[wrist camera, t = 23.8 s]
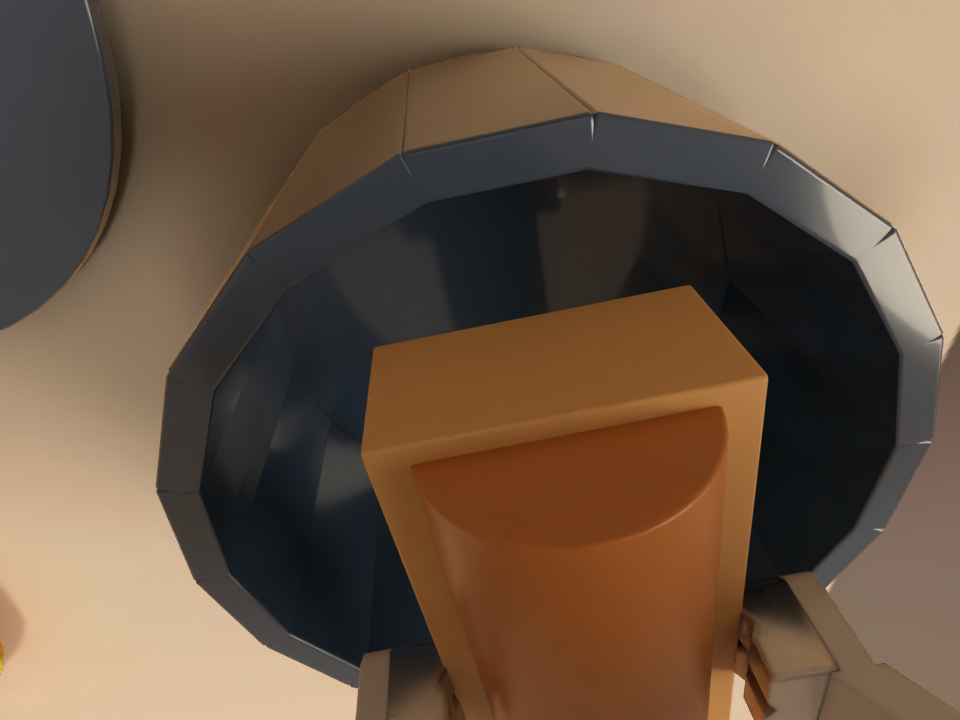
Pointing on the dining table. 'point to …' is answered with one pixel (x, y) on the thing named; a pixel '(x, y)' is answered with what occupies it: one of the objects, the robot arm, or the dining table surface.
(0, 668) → the decorated donut
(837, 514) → the crock
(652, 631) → the orange rounded bar
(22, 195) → the crock lid
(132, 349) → the dining table surface
